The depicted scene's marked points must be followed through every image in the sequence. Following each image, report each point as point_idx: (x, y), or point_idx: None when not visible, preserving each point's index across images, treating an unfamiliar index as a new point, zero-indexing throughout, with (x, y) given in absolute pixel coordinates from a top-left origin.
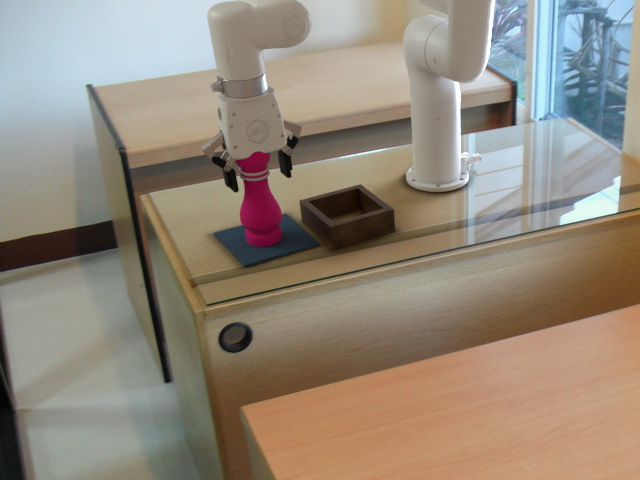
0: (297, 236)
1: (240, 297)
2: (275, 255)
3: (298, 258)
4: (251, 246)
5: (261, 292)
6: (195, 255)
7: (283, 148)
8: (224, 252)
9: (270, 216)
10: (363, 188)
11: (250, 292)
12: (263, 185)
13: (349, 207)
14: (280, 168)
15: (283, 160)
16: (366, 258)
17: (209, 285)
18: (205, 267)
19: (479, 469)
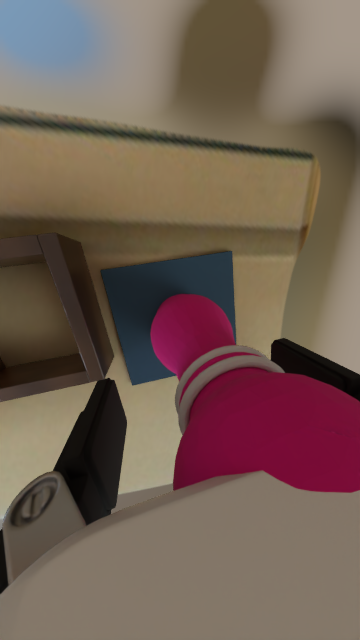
0: (131, 308)
1: (266, 152)
2: (181, 259)
3: (146, 241)
4: None
5: (234, 149)
6: (272, 316)
7: (60, 539)
8: (239, 309)
9: (183, 301)
10: None
11: (248, 161)
12: (203, 346)
13: (18, 368)
14: (124, 431)
15: (102, 446)
16: (14, 173)
17: (288, 221)
18: (273, 277)
19: None
